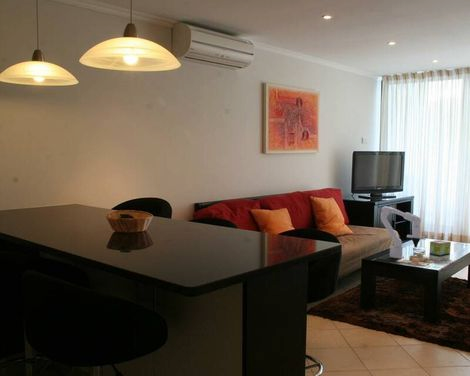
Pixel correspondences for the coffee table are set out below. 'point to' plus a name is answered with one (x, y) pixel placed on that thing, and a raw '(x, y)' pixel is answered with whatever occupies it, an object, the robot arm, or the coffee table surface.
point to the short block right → (426, 260)
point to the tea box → (439, 250)
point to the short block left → (411, 257)
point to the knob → (415, 260)
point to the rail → (412, 263)
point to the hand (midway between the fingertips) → (415, 247)
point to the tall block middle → (420, 257)
